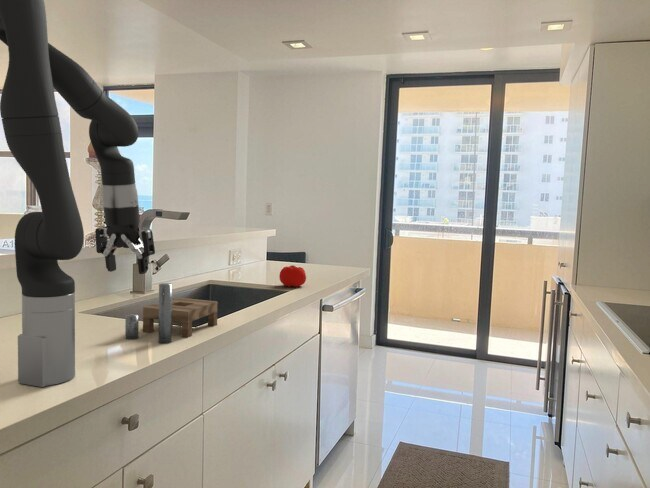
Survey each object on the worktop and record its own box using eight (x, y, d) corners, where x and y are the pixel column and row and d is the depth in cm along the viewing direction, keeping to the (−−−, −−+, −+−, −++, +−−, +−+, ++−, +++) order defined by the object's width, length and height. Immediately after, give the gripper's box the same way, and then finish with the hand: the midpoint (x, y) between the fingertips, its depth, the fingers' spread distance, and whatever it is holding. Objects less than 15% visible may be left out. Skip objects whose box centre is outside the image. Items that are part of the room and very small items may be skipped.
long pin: (166, 344, 129) (167, 285, 128) (155, 342, 130) (156, 284, 129) (173, 341, 132) (174, 283, 131) (163, 339, 133) (163, 282, 132)
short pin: (133, 339, 132) (133, 317, 132) (122, 338, 133) (122, 315, 133) (140, 337, 135) (141, 314, 135) (130, 335, 136) (130, 313, 136)
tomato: (305, 288, 222) (305, 268, 221) (277, 287, 222) (278, 267, 222) (306, 284, 233) (307, 265, 232) (280, 283, 233) (280, 264, 232)
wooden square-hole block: (187, 337, 136) (188, 311, 136) (142, 332, 140) (143, 306, 140) (217, 324, 151) (217, 301, 151) (175, 320, 155) (176, 297, 155)
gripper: (83, 205, 115) (91, 274, 119) (137, 207, 112) (143, 278, 115) (105, 200, 122) (112, 266, 126) (157, 202, 119) (163, 270, 122)
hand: (127, 272), depth 121 cm, fingers open, 8 cm apart
